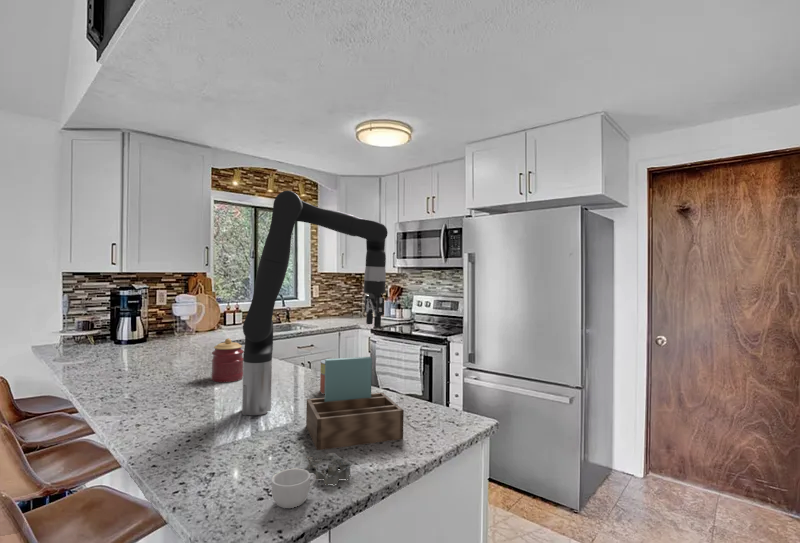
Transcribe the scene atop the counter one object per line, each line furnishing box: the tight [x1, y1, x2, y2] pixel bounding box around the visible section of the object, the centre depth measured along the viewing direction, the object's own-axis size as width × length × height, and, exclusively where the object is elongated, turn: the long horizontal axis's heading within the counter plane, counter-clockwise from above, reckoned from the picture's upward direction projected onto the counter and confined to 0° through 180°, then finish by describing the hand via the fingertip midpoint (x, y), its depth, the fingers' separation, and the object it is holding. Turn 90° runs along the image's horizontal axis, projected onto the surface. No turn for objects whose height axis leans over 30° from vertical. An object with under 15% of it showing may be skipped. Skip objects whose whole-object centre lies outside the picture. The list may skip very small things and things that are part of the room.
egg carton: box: [305, 452, 354, 486], centre depth 100 cm, size 11×8×4 cm
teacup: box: [271, 467, 317, 509], centre depth 89 cm, size 10×8×5 cm
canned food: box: [319, 357, 338, 395], centre depth 170 cm, size 11×11×12 cm
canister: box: [210, 338, 244, 383], centre depth 185 cm, size 13×13×18 cm
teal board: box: [323, 356, 373, 402], centre depth 129 cm, size 14×2×20 cm, turn 111°
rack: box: [305, 392, 405, 451], centre depth 123 cm, size 24×18×10 cm
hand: (373, 325), depth 150 cm, fingers open, 8 cm apart
